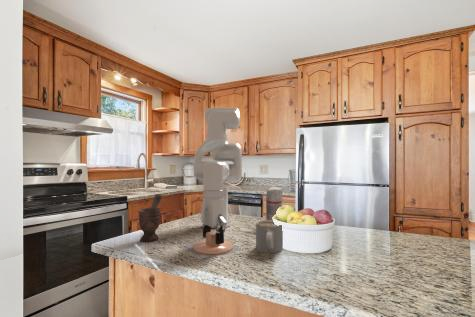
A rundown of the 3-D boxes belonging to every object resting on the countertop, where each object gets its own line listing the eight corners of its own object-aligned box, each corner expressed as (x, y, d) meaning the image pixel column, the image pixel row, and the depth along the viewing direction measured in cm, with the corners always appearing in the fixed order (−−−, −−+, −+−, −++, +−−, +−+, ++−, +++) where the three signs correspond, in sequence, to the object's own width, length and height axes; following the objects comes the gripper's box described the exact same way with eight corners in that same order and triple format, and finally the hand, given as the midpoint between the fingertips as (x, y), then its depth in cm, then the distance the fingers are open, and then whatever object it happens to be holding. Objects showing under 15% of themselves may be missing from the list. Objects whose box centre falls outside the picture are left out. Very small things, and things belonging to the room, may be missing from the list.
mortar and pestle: (170, 240, 109) (171, 192, 109) (157, 246, 101) (157, 194, 101) (148, 237, 113) (148, 191, 113) (133, 242, 105) (134, 193, 105)
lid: (186, 245, 100) (186, 231, 100) (219, 239, 108) (220, 226, 108) (204, 258, 88) (204, 241, 88) (240, 249, 96) (240, 234, 96)
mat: (184, 247, 100) (184, 245, 100) (220, 240, 109) (220, 238, 109) (203, 260, 87) (203, 258, 87) (242, 251, 96) (242, 249, 96)
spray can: (283, 229, 127) (283, 188, 128) (266, 229, 128) (267, 188, 128) (281, 224, 136) (281, 186, 136) (265, 224, 136) (265, 186, 136)
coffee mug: (259, 244, 104) (259, 219, 104) (284, 247, 101) (284, 221, 101) (250, 255, 92) (250, 227, 92) (278, 259, 88) (278, 229, 88)
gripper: (194, 193, 103) (193, 236, 103) (216, 197, 89) (215, 248, 88) (211, 191, 107) (210, 233, 107) (234, 196, 93) (234, 244, 93)
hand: (213, 240), depth 98 cm, fingers open, 9 cm apart
